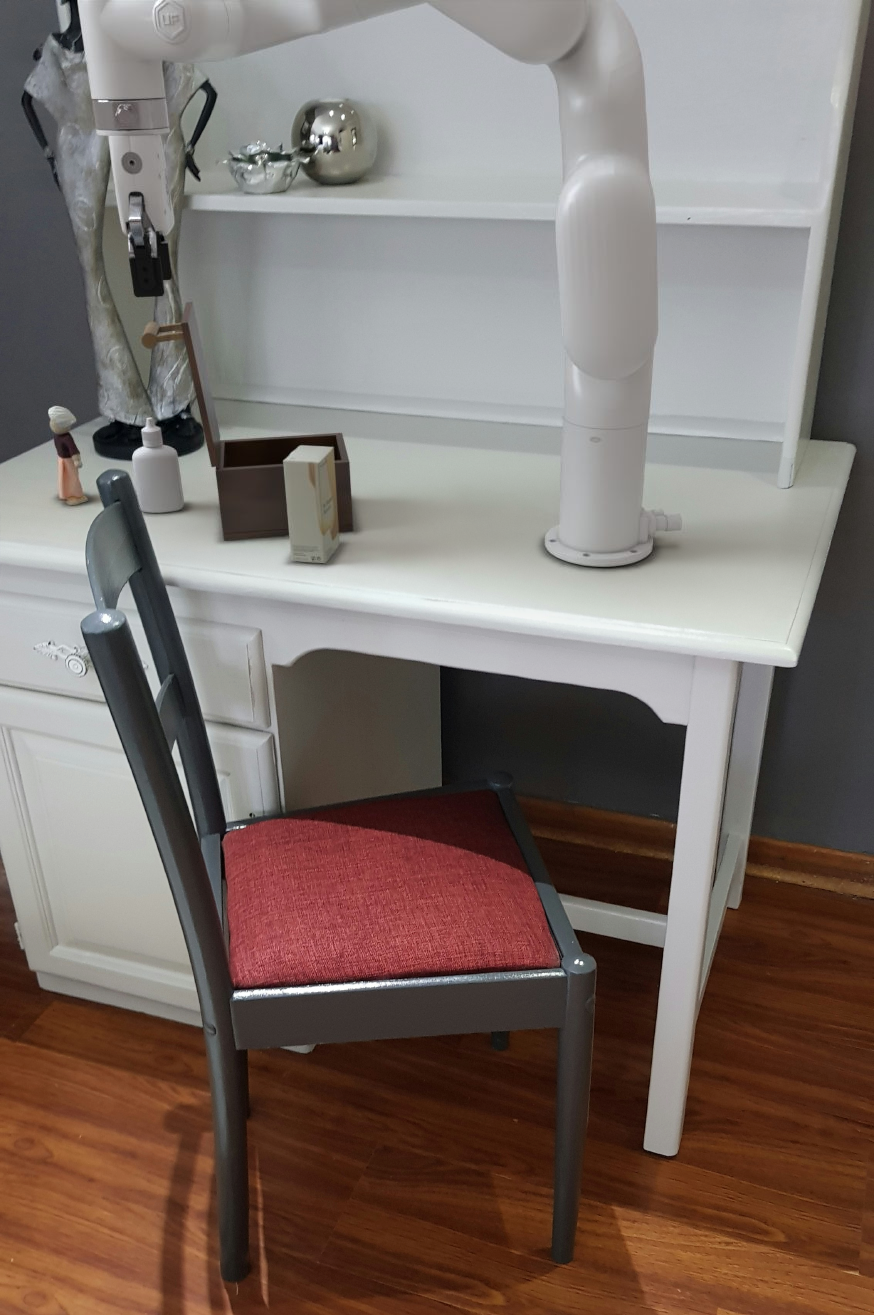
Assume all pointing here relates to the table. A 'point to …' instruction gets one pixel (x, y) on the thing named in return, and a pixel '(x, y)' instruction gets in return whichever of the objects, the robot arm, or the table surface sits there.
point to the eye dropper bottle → (157, 473)
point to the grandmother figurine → (66, 456)
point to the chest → (271, 484)
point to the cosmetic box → (311, 503)
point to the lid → (197, 371)
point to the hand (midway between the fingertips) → (154, 287)
